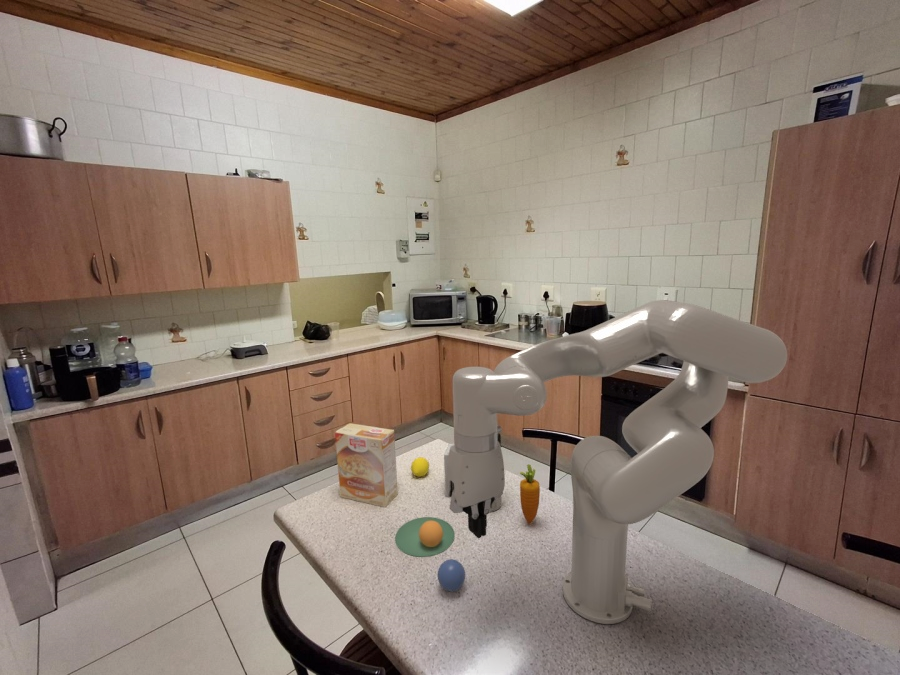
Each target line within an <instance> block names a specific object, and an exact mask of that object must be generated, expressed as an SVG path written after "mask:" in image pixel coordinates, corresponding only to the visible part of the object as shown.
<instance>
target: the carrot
mask: <svg viewBox="0 0 900 675" xmlns="http://www.w3.org/2000/svg"><path fill="white" fill-rule="evenodd" d="M526 467H527V471H525V472H523V471H520V472H519V474H520V475H521V476H523V477H524V479H522V480H520V483H519V489H520V490H519V491H520V505H521V510H522V515H523V516H524V520H525V521H526V522H527V524H528V525H531V524H532V523H533V522H534V520H535V519H536V517H537V514H538V510H539V506H540V492H541V491H540V490H541V489H540V482H539V481H538V480H536V479H534V478H535V475H536V469H535V468H532V465H531V464H526Z"/></svg>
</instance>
